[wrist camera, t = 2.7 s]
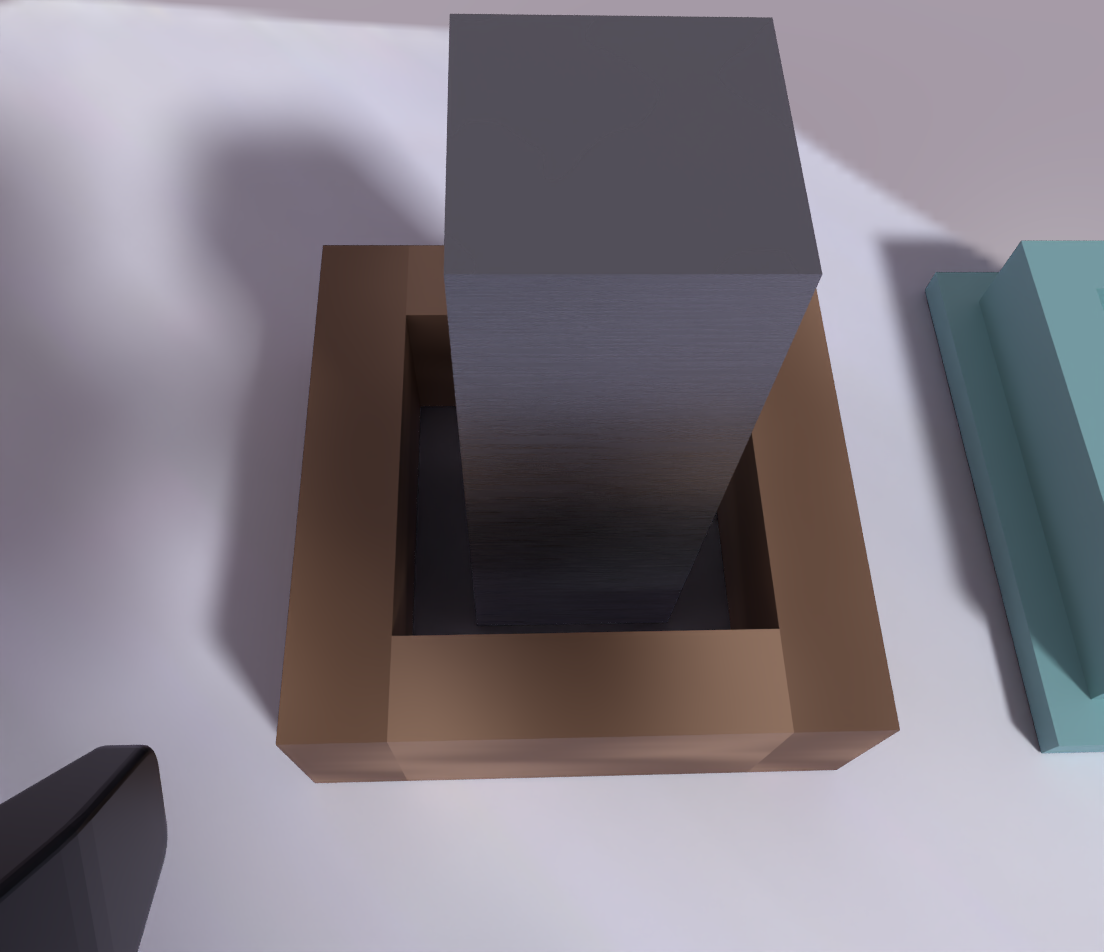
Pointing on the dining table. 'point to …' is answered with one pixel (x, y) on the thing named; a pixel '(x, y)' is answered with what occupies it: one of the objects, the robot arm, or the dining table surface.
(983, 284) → the cradle
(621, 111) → the square axle
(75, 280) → the dining table surface
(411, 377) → the bore block
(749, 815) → the dining table surface
